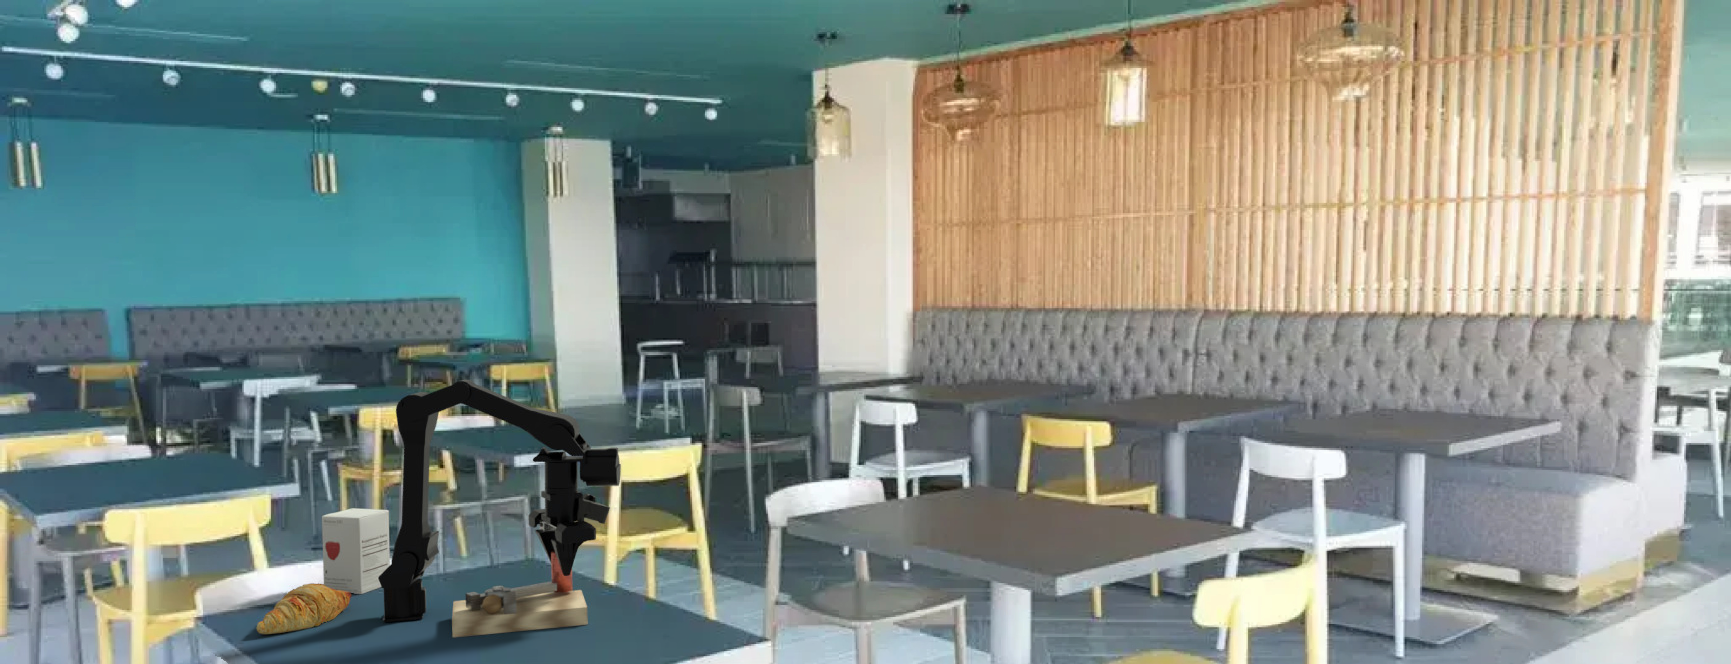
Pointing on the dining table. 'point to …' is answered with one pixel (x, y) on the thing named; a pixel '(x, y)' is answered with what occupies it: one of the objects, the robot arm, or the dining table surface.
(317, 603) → the croissant
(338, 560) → the supplement box
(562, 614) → the block
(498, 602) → the walnut
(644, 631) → the dining table surface
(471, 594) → the lever
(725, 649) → the dining table surface
